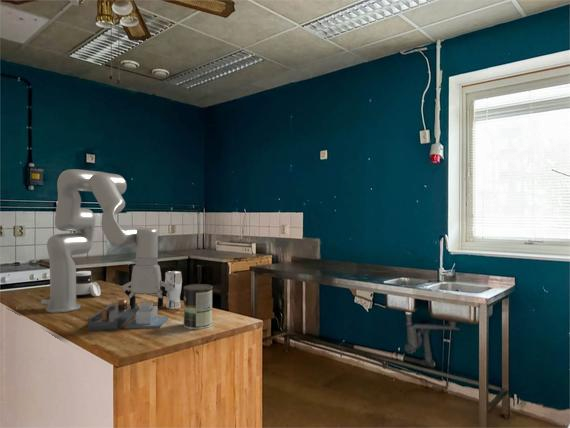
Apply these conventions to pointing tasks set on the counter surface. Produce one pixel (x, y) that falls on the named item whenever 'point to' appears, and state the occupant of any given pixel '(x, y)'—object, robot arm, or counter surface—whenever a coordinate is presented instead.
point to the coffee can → (198, 306)
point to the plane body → (112, 317)
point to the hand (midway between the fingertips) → (146, 308)
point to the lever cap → (146, 314)
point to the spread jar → (86, 285)
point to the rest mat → (155, 324)
